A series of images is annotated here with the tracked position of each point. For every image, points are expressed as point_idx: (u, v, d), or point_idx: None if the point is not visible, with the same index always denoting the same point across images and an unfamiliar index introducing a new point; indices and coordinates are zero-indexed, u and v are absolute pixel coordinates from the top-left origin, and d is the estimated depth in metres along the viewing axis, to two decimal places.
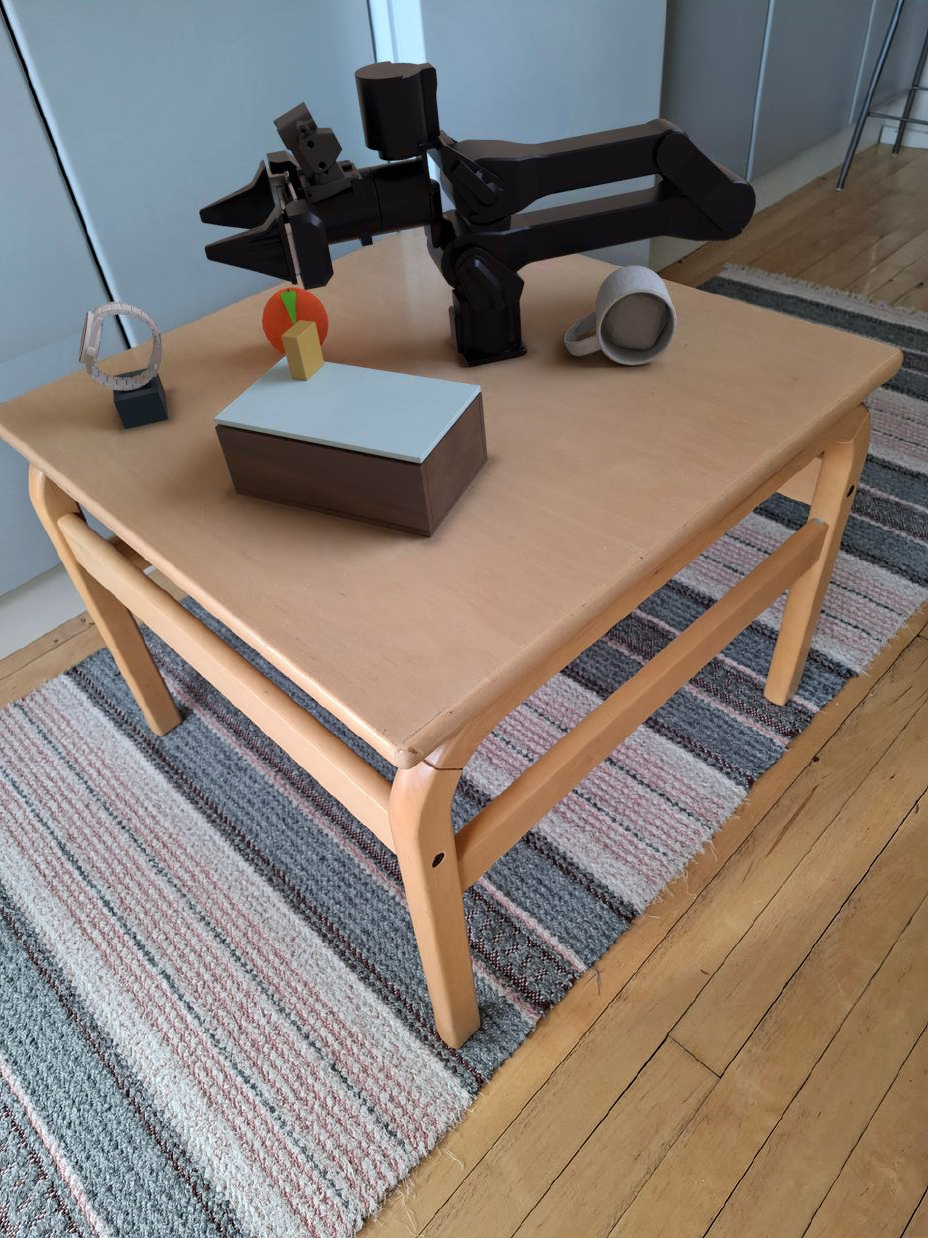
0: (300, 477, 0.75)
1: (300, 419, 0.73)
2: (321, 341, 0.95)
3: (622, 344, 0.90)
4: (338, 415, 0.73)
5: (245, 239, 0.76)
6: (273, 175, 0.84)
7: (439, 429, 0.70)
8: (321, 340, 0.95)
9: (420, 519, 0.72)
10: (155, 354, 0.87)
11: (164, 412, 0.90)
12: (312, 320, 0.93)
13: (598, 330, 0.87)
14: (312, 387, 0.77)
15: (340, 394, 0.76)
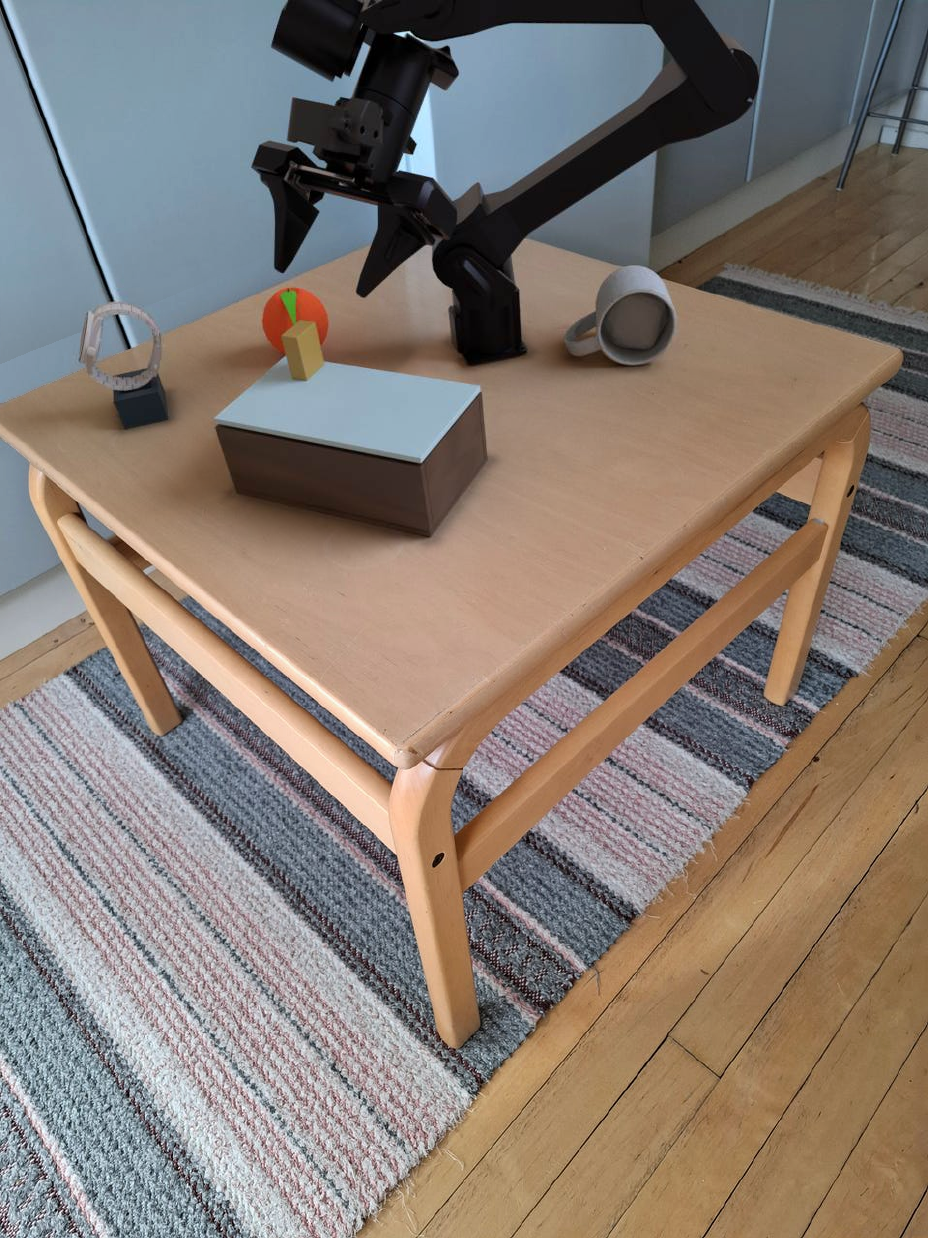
0: (300, 477, 0.75)
1: (300, 419, 0.73)
2: (321, 341, 0.95)
3: (622, 344, 0.90)
4: (338, 415, 0.73)
5: (381, 254, 0.76)
6: (287, 176, 0.79)
7: (439, 429, 0.70)
8: (321, 340, 0.95)
9: (420, 519, 0.72)
10: (155, 354, 0.87)
11: (164, 412, 0.90)
12: (312, 320, 0.93)
13: (598, 330, 0.87)
14: (312, 387, 0.77)
15: (340, 394, 0.76)
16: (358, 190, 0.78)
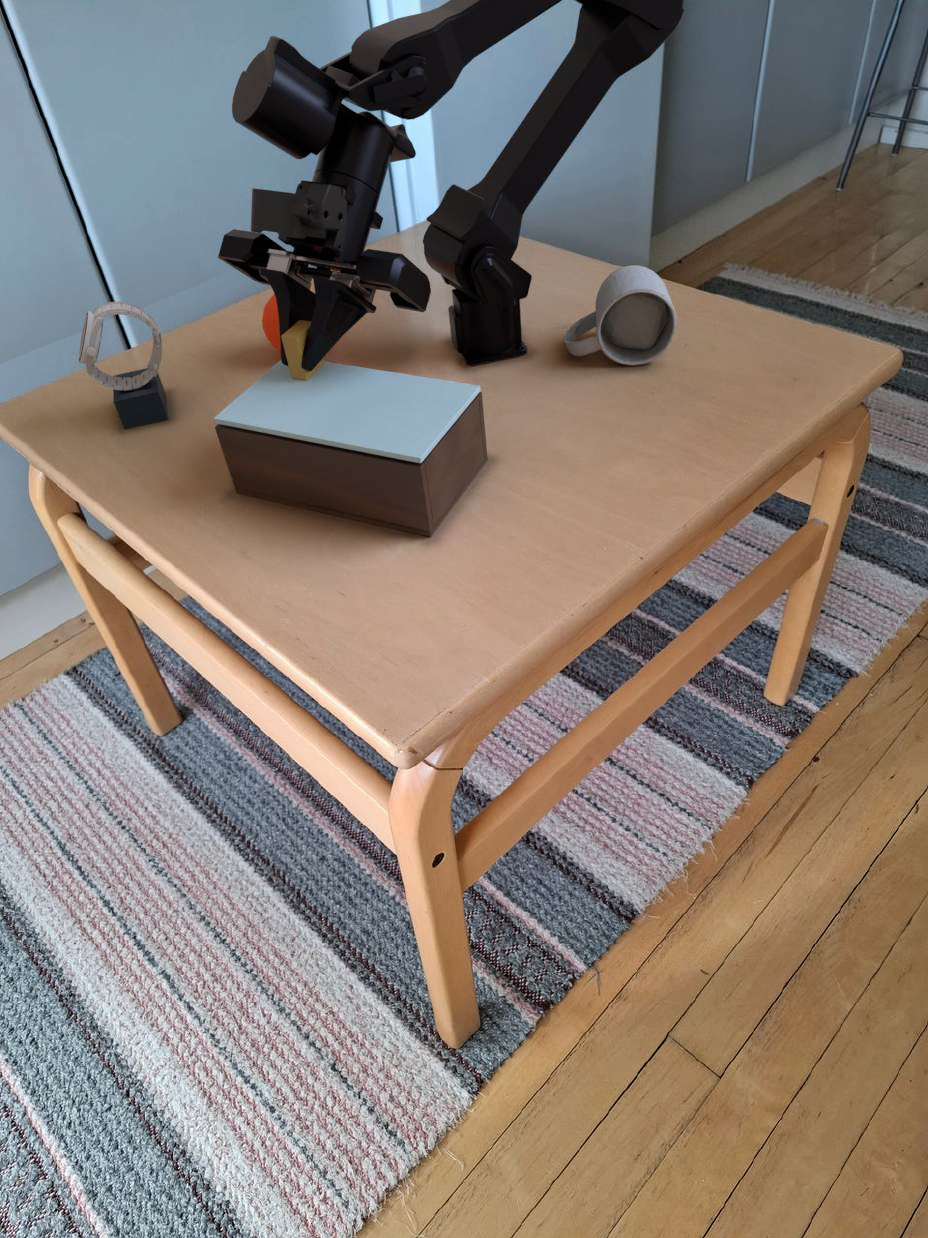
0: (300, 477, 0.75)
1: (300, 418, 0.73)
2: None
3: (622, 344, 0.90)
4: (338, 415, 0.73)
5: (322, 327, 0.75)
6: (287, 269, 0.76)
7: (439, 429, 0.70)
8: None
9: (420, 519, 0.72)
10: (155, 354, 0.87)
11: (164, 412, 0.90)
12: None
13: (598, 330, 0.87)
14: (312, 386, 0.77)
15: (340, 394, 0.76)
16: None
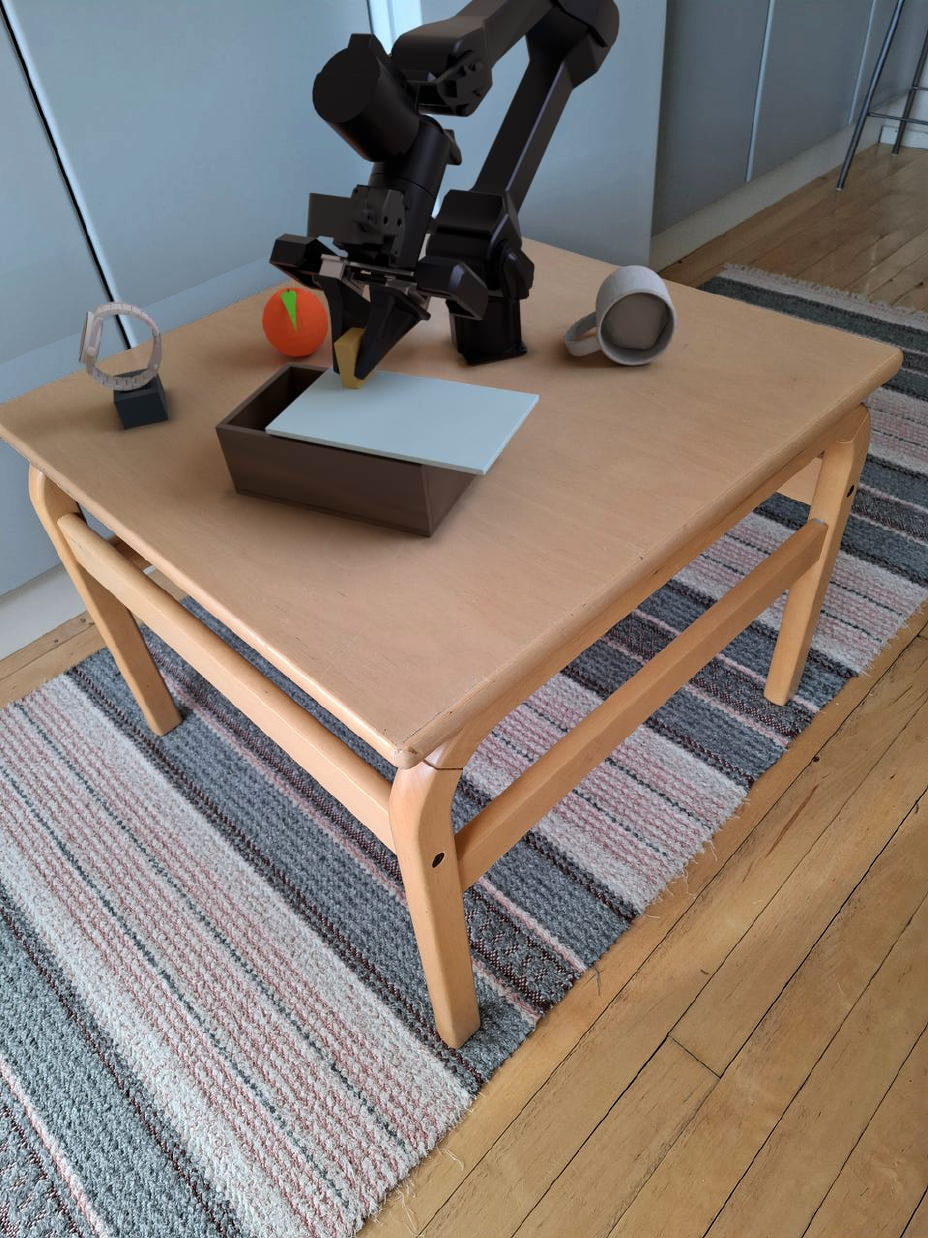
0: (300, 477, 0.75)
1: (355, 429, 0.72)
2: (321, 341, 0.95)
3: (622, 344, 0.90)
4: (394, 425, 0.71)
5: (377, 335, 0.74)
6: (341, 275, 0.74)
7: (500, 440, 0.69)
8: (321, 340, 0.95)
9: (420, 519, 0.72)
10: (155, 354, 0.87)
11: (164, 412, 0.90)
12: (312, 320, 0.93)
13: (598, 330, 0.87)
14: (364, 395, 0.75)
15: (394, 404, 0.74)
16: None
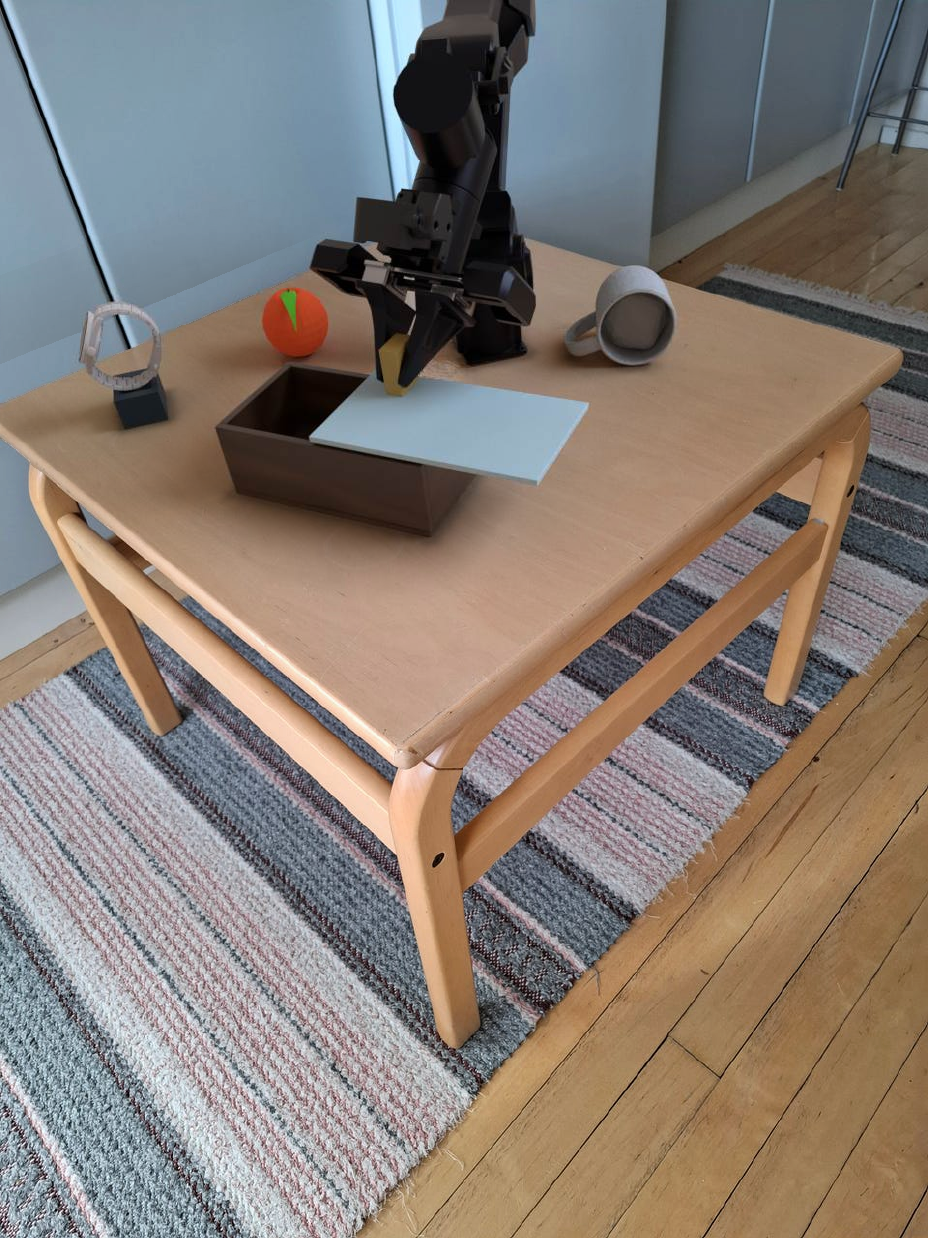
0: (300, 477, 0.75)
1: (401, 437, 0.70)
2: (321, 341, 0.95)
3: (622, 344, 0.90)
4: (441, 434, 0.70)
5: (422, 342, 0.72)
6: (385, 281, 0.73)
7: (552, 450, 0.67)
8: (321, 340, 0.95)
9: (420, 519, 0.72)
10: (155, 354, 0.87)
11: (164, 412, 0.90)
12: (312, 320, 0.93)
13: (598, 330, 0.87)
14: (409, 403, 0.74)
15: (441, 411, 0.72)
16: None
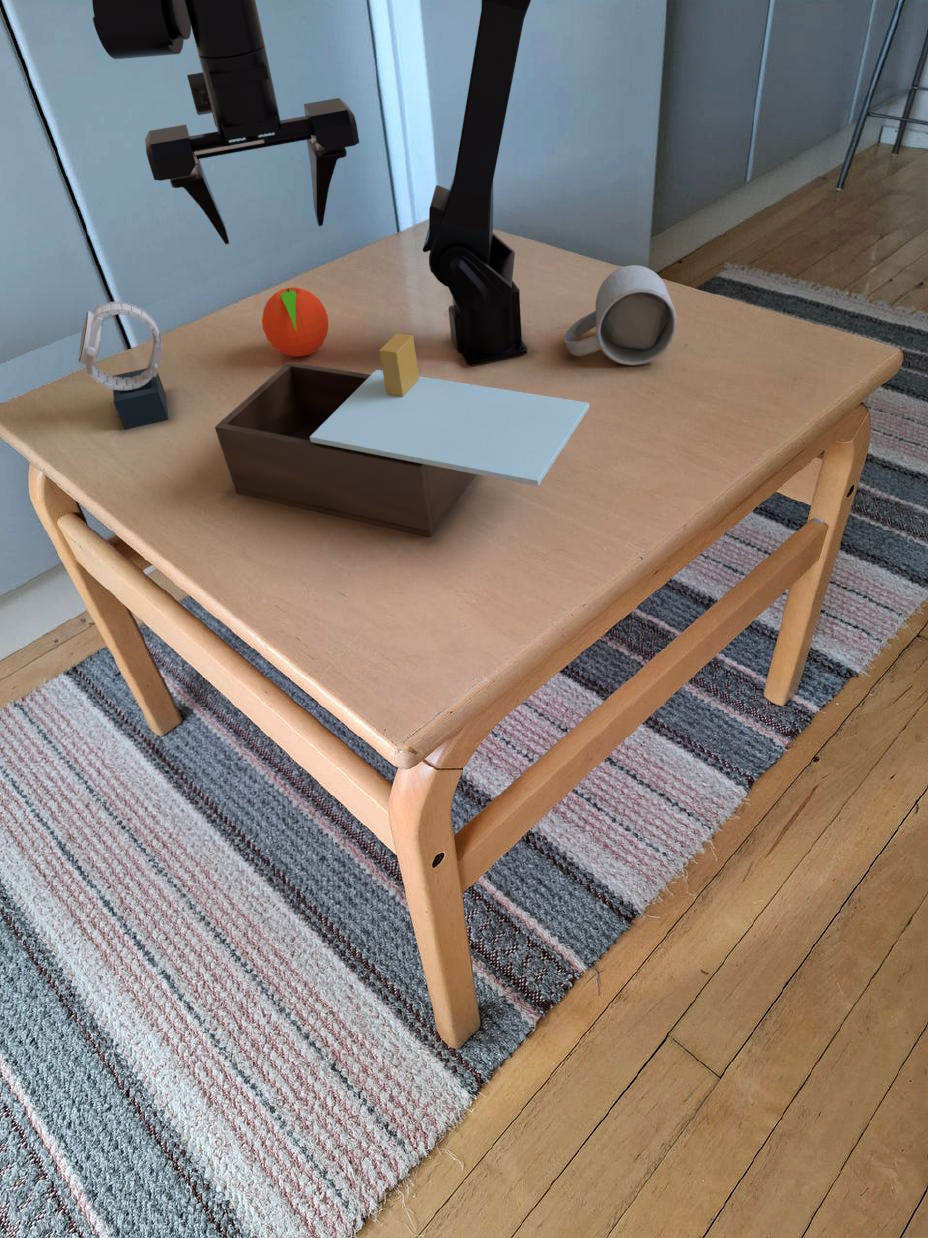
0: (300, 477, 0.75)
1: (402, 437, 0.70)
2: (321, 341, 0.95)
3: (622, 344, 0.90)
4: (442, 434, 0.70)
5: None
6: None
7: (553, 450, 0.67)
8: (321, 340, 0.95)
9: (420, 519, 0.72)
10: (155, 354, 0.87)
11: (164, 412, 0.90)
12: (312, 320, 0.93)
13: (598, 330, 0.87)
14: (409, 403, 0.74)
15: (441, 412, 0.72)
16: (242, 141, 0.83)
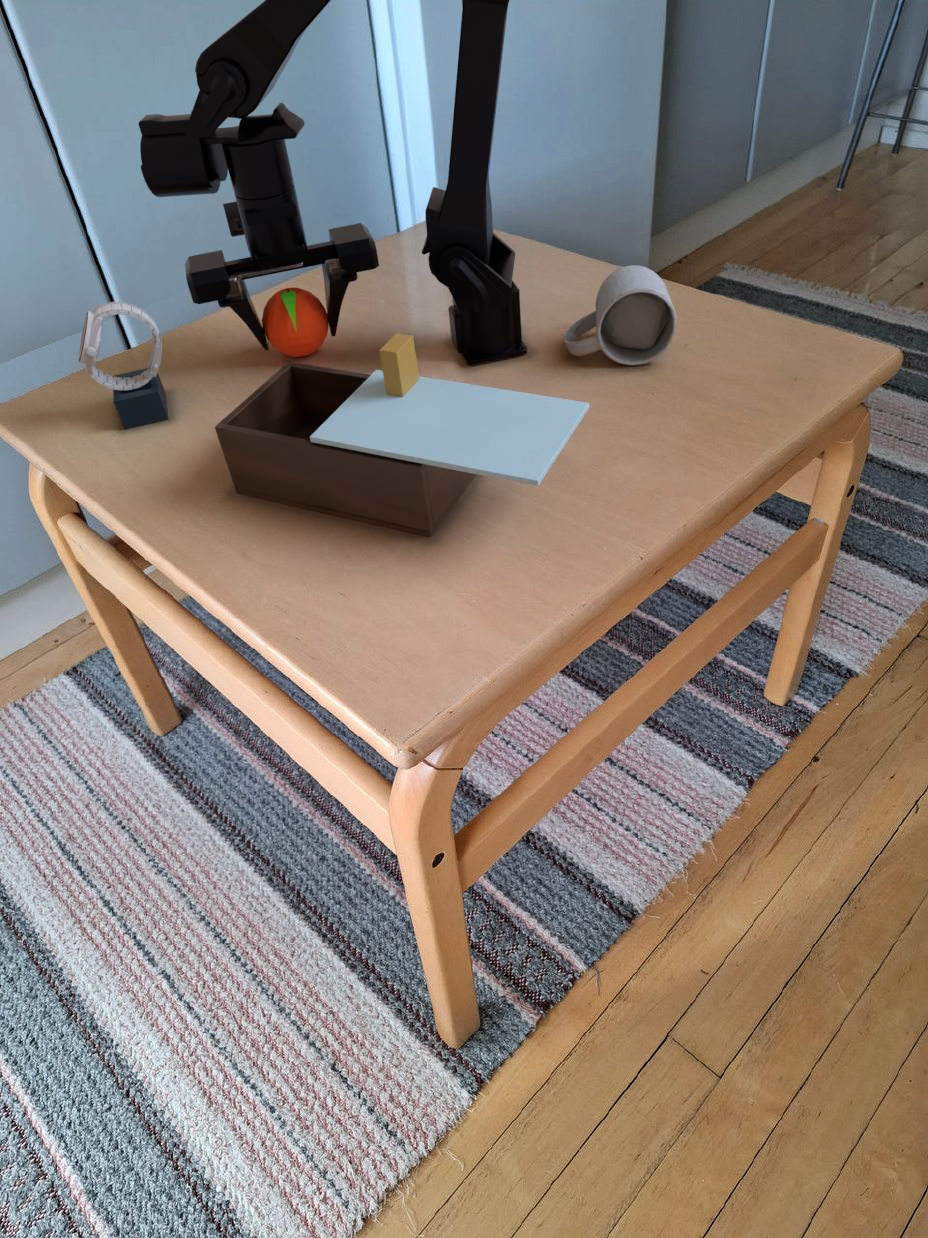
0: (300, 477, 0.75)
1: (402, 437, 0.70)
2: (321, 341, 0.95)
3: (622, 344, 0.90)
4: (442, 434, 0.70)
5: None
6: None
7: (553, 450, 0.67)
8: (321, 340, 0.95)
9: (420, 519, 0.72)
10: (155, 354, 0.87)
11: (164, 412, 0.90)
12: (312, 320, 0.93)
13: (598, 330, 0.87)
14: (409, 403, 0.74)
15: (441, 412, 0.72)
16: None
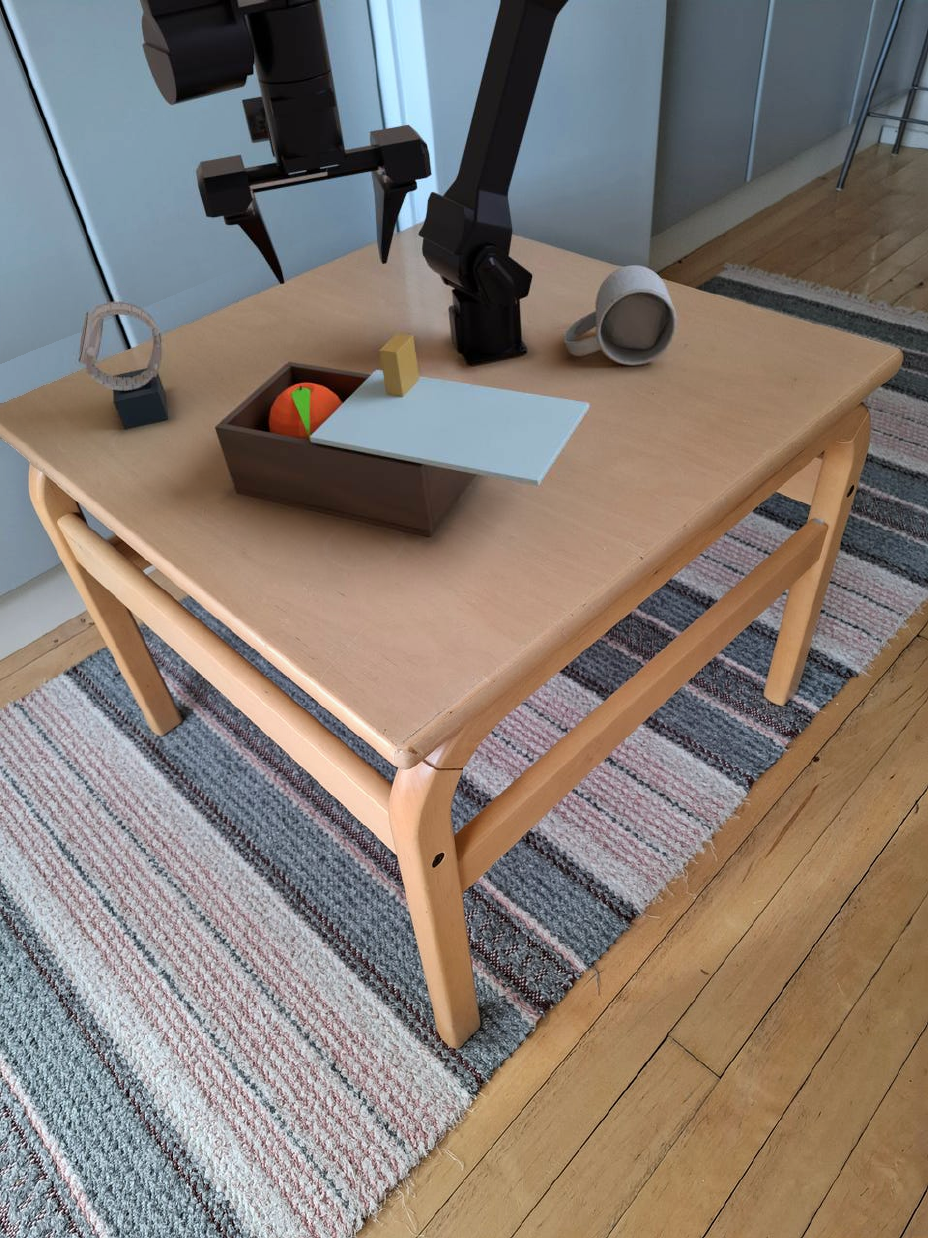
0: (300, 477, 0.75)
1: (402, 437, 0.70)
2: None
3: (622, 344, 0.90)
4: (442, 434, 0.70)
5: None
6: None
7: (553, 450, 0.67)
8: None
9: (420, 519, 0.72)
10: (155, 354, 0.87)
11: (164, 412, 0.90)
12: None
13: (598, 330, 0.87)
14: (409, 403, 0.74)
15: (441, 412, 0.72)
16: (302, 173, 0.75)
